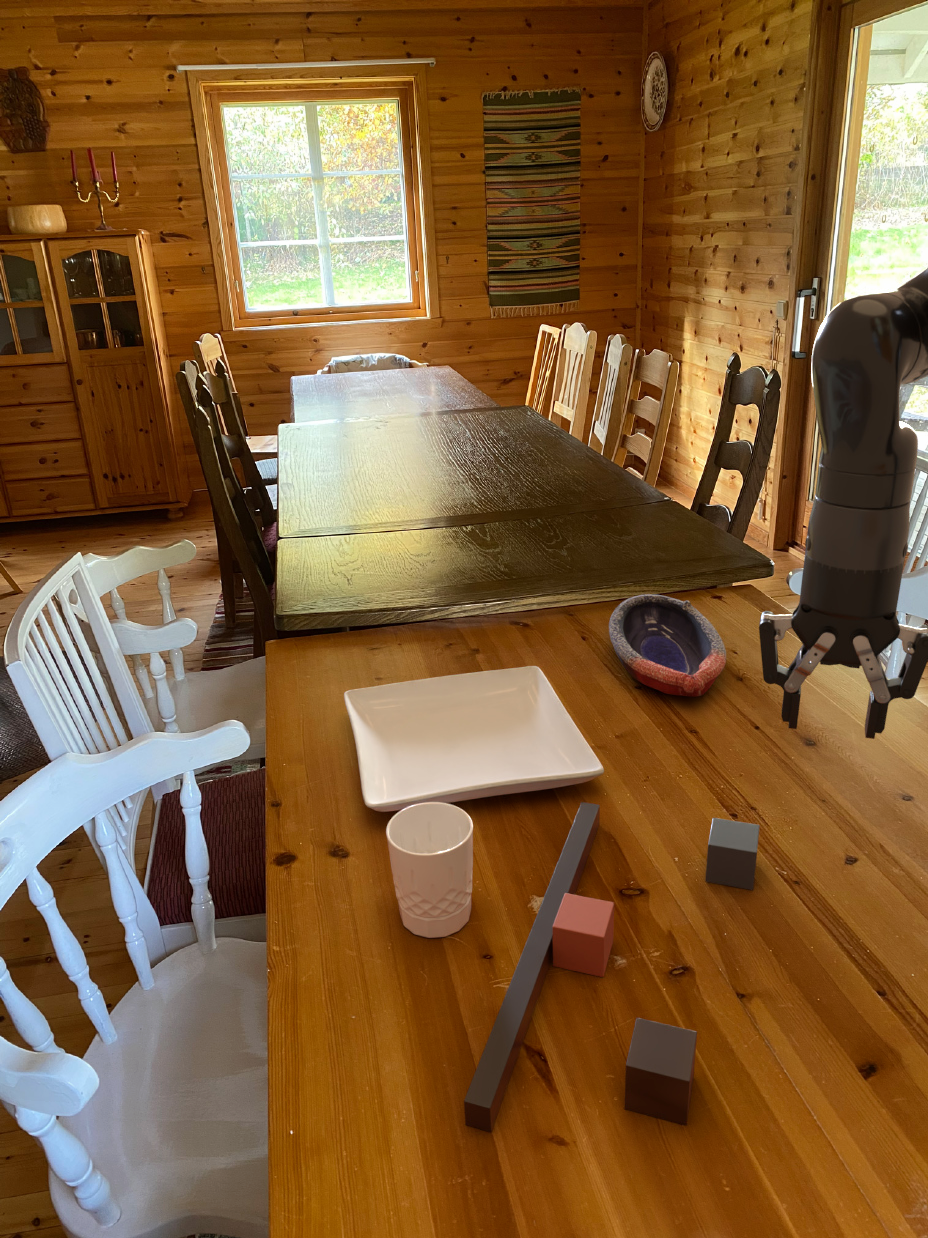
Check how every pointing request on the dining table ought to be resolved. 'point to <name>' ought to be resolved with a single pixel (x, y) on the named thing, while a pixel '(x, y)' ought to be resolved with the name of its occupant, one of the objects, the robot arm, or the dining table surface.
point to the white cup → (432, 867)
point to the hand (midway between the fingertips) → (830, 728)
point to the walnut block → (660, 1070)
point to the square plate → (465, 738)
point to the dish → (667, 644)
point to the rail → (528, 979)
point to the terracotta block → (583, 934)
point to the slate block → (732, 853)
